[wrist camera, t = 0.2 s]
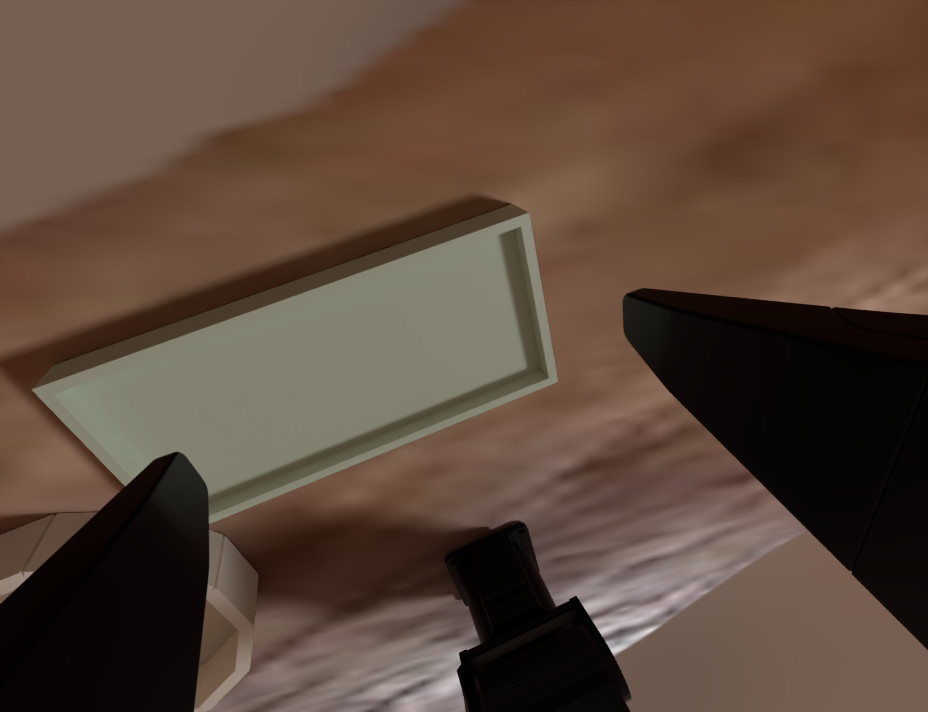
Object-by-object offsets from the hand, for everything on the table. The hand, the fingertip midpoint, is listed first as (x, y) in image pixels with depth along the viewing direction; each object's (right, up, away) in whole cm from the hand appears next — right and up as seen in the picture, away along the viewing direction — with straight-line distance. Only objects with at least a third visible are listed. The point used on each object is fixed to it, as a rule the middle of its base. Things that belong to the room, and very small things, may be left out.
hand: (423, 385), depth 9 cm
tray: (-6, 0, +15) cm, 16 cm away
